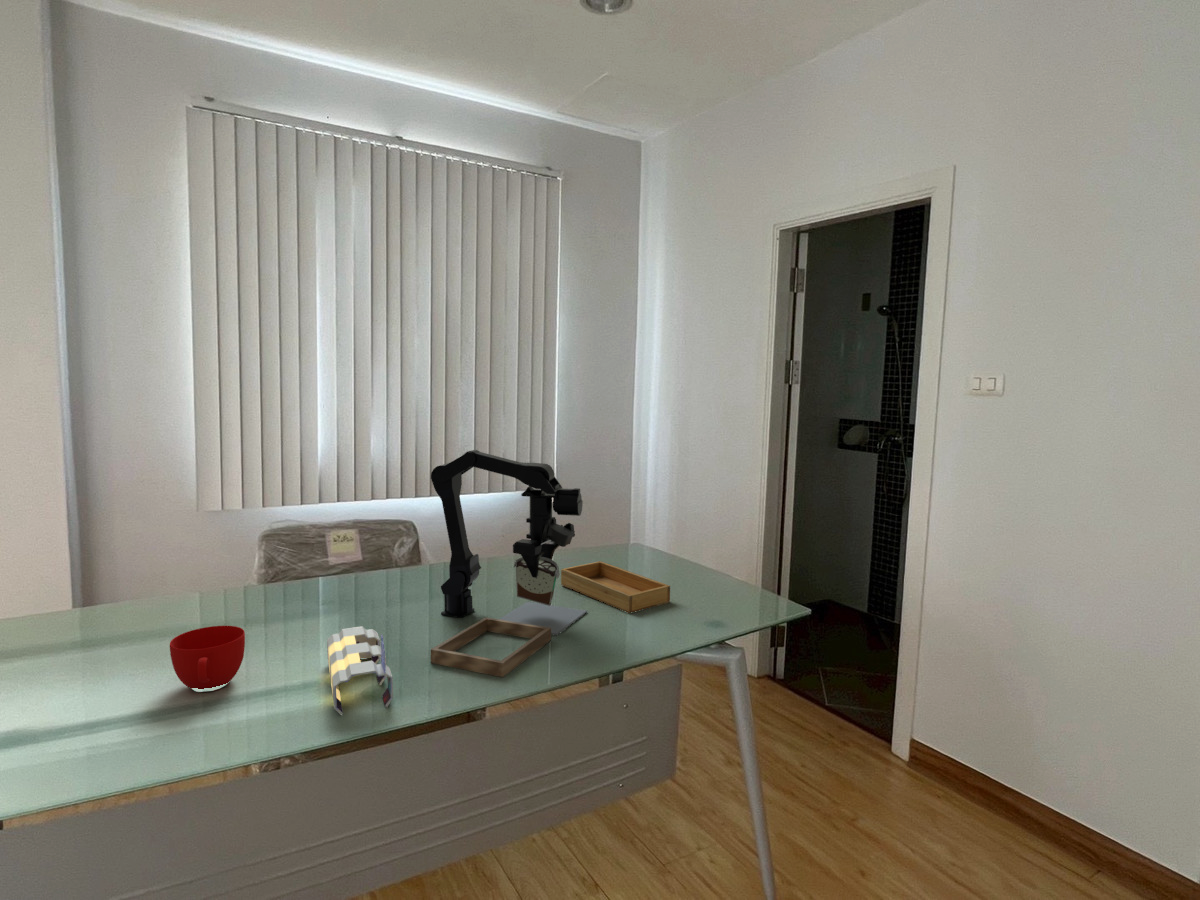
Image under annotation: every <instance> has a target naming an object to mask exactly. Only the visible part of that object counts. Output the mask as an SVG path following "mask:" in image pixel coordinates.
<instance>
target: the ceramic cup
mask: <svg viewBox="0 0 1200 900" xmlns="http://www.w3.org/2000/svg"><path fill="white" fill-rule="evenodd" d="M245 642H246V634H245V630H244V629H243V628H241V627H239V626H235V625H212V626H206V627H201V628H200V627H199V628H197V629H191V630H189V631H186V632H183V633H180V634H178V635H177V636H175V637H173V638H172V639H171V640H170V642H169V654H170V659H171V664H172V667H173V670H174V673H175V674H176V676H177V678H178V679H179V681H180V682H181V684H183V685H185V686H186V687H187V688H189V687H190V688H198V689H204V688H212V687H216V686H220V685H223V684H226V683H228V682H229V681H230V682H231V681H232V680H233V678H234V677H235V676H236V675H237V673H238V672H239V670H240V667H241V665H242V663H243V660H244V655H245V647H246V646H245V644H246V643H245ZM230 682H229V683H230ZM190 688H189V689H190Z"/></svg>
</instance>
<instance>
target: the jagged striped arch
mask: <svg viewBox="0 0 1200 900" xmlns="http://www.w3.org/2000/svg"><path fill="white" fill-rule="evenodd" d="M384 642H385V641H384V635H383V634H381V635H380V636H379V634H378V632H377V631H376V630H375V629H373V628H370V629H369V628H368V629H366V628H365V627H364V626H362V625H361V626H353V627H348V628H341V630H340V631H339V632H338V633H332V634H331V635H330V636H329V637H328V638H327V639H326V643H327V644H326V646H327V647H326V648H327V663H328V670H329V678H330V685H331V693H332V700H333V701H332V702H333V707H334V708H333V709H334V710H335V711H336V712H337V713H339V715H341V714H343V715H344V713H343V705H342V701H341V699H342V698H341V692H340V686H339V685H340V684H341V683H348V682H349V681H350V679H352V678H353V677H355V676H356V677H357V676H361V675H368V674H375V675H376V678H377V683H378V682H379V683H378V685H381V686H382V684H383V683H384V681H387V682H386V683H387V687H386V690H384V692H383V693H382V696H383V697H382V700H383V703H384V707H385V708H389V707H388V706H389V705H390V703H391V702H392V701H393V699H394V682H393V681H394V680H393V675H392V671H391V669H390V666H388V665H387V657H386V649H385V643H384ZM371 657H372V658H371ZM361 658H371V660H367V661H362V660H360V659H361ZM379 661H381V662H380V663H379ZM386 679H387V680H386Z"/></svg>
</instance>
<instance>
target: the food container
mask: <svg viewBox="0 0 1200 900" xmlns="http://www.w3.org/2000/svg"><path fill="white" fill-rule="evenodd" d="M513 568H515V581H516V582H515V583H516V585H515V586H516V597H517V598H519V599H524V600H527V601H529V602H534V603H540V604H544V605H548V606H550V605H552V601H553V597H554V592H555V588H556V587H555V586H556V581H557V579H558V578H560V576H561V572H560V568H559V565H558V564H557V562H556V561H555V560H553V559H552V560H551V559H549V558H546V557H540V558H539V565H538V573H537V577H536V578H534V577H532V575H531V573H530V571H529V569H528V567H527V565H526V563H525V561H524V559H523V558H522V557H520V558H517V559H515V562H514V564H513Z"/></svg>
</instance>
